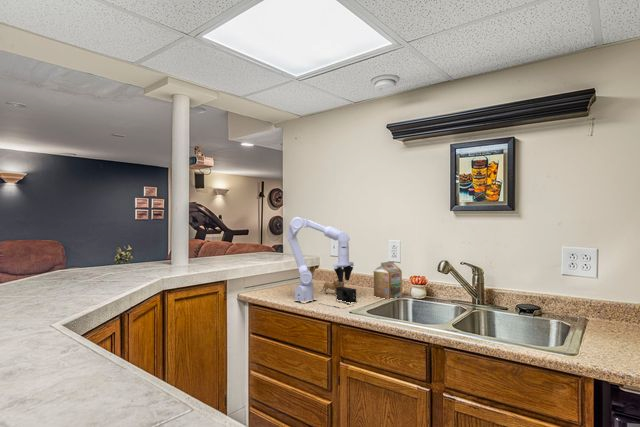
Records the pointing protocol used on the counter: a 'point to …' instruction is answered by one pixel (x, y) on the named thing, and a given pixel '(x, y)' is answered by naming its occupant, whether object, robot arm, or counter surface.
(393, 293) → the milk carton
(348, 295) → the digital camera
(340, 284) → the lion figurine
